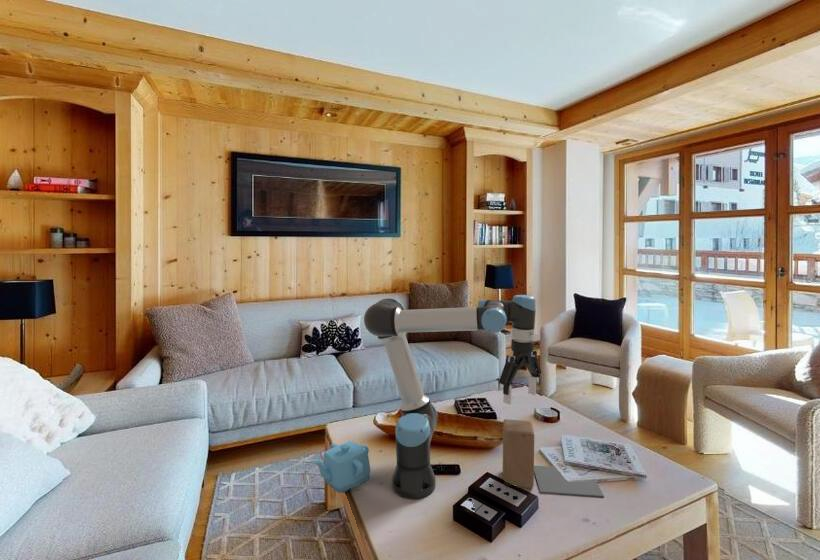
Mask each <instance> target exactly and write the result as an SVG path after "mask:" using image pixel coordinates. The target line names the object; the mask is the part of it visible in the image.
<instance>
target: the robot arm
mask: <svg viewBox="0 0 820 560" xmlns="http://www.w3.org/2000/svg"><path fill="white" fill-rule="evenodd" d="M536 311H537V310H536V298H535V297H534V296H532V295H527V294H516V295H514V296H513V297H512V300H500V299H498V300H497V299H489V298H488V299H479V300H478V303H477V306H470V307H465V306H464V307H446V308H445V307H443V308H441V307H440V308H424V309H423V308H422V309H418V308H417V309H406V308H405V306H404V305H403V303H402V301H399V300H398V299H396V298H393V297H387V298H383V299H381V300H378V301H377V302H376V303H374V304H372V305H370V306H369V307H368V308H367V309H366V311H364V312H365V313H364V315H363V316H364V317H363V323H364V327H365V329H366V330H367V332H369V333H370V334H372V335H374V336H375V337H377V339H378V340H379V341H381V342H383V343H384V348H385V350H386V354H387V357H388V360H389V363H390V367H391V370H392V373H393V376H394V379H395V380H394V381H395V382H396V386H397V389H398V392H399V396H400V398H401V404H400V406H399V409H400V413H401V415H402V416H400V417H399V418H398V420H397V421H396V425H395V428H394V430H395V431H394V433H395V434H394V435H395V449H396V450H395V451H396V452H395V453H396V455H395V457H396V465H395V468H394V472H393V475H392V479H391V488H392V490H393V491H394V493H395V494H396V495H397V496H399V497H402V498H404V499H409V500H417V499H422V498H426V497H428V496H429V495H431V494H432V493H433V492H434V491H435V489H436V486H437V485H436V484H437V481H436V475H435V473H434V470H433V468H432V465H431V441H432V438H433V434H434V432H435V429H436V427H437V424H438V411H437V409H436V408H437V407H436V406H435V405H434V404H433V403H432V402H431V399H430V397H429V396H428V395H426V394H424V391H423V387H422V383H421V381H420V378H419V375H418V371H417V368H416V365H415V362H414V358H413V355H412V352H411V348H410V345H409V343H408V339H407V336H406V335H407V333H430V332H431V333H433V332H464V331H465V332H466V331H467V332H468V331H470V332H471V331H486V332H488V333H491V334H495V333H496V334H497V333H500V332H501V331H503V330H504V328H505V327H506V324H507V323H512V324H511V336H510V337H511V340H510V341H511V343H510V349H511V351H512V355H506V356H505V363H504V366H503V369H502V371H501V374H500V378H499V380H498V383H499V384H501V385H502V386H503V387H502V395H503V401H502V402H503V403H505V404H506V405H509V406H510V405H512V392H513V391H512V389H513V387H512V385H511V384H512V382H513V381H514V378H515V376H516V375H517V372H518V371H519V370H520V369H521V368H523V367H525V368H526V369H527V371H528V373H529V374H530V375H528V386H527V387H528V391H527V392H528V394H530V395H532V396H536V395H537V383H538V381H537V380H538V378H540V377H541V374H542V370H541V366H540V362H539V360H538V352H537V350H535V349H534V345H535V342H534V339H535V324H536V313H537V312H536Z"/></svg>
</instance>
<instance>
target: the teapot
mask: <svg viewBox="0 0 820 560" xmlns="http://www.w3.org/2000/svg"><path fill="white" fill-rule="evenodd" d="M329 447H330V448H329V449H328V450H326V451H324V452H323V459H322V460H314V461H312V462H311V464H313V465H316V466H318V468H319V469H318V470H319V472H320V476H321V477H322V478H323V480H324V482H325V483H326V484H328V486H329V487H330V488H332V489H333V491H335V492H337V493H338V494H340V493H346V492H347V491H348V490H351V489H353V488H354V487H356V486H359V484H360V485H362V484H363V483H364V482H366V481H367V480H369V479H370V476H371V465H370V459H369V452H370V449H369V446H368V445H367V444H358V443H357V442H356V441H354V440H349V441H346V442H344V443H340V444H337V443H331V444H330V446H329ZM362 482H363V483H362ZM361 483H362V484H361Z"/></svg>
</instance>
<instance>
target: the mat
mask: <svg viewBox="0 0 820 560" xmlns="http://www.w3.org/2000/svg"><path fill="white" fill-rule="evenodd" d="M555 467H556V466H549V465H548V466H547V465H534V478H535V479H536V482H537V487H538V490H539V493H540V494H551V495H552V494H554V495H568V496H569V495H570V496H580V497H595V498H605V495H604V493H603V492H602V490H601V488H600V486H599V484H598V482H597V481H596V479H593V480H589V481H584V482H568V481H567V480H565V479H564V478H563V476H562V475H561V473H560V472H559V471H558V470H557V469H556V468H555Z"/></svg>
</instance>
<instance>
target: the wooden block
mask: <svg viewBox="0 0 820 560" xmlns="http://www.w3.org/2000/svg"><path fill="white" fill-rule="evenodd" d="M534 466H535V432H534V427H533V423H532V422H531V421H530V420H524V419H523V420H521V419H507V418H506V419H503V421H502V479H503V480H504V481H507V482H509V483H511V484H513V485H516V486H518V487H517V488H523V489H534V484H535V483H534V482H535V473H534Z"/></svg>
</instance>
